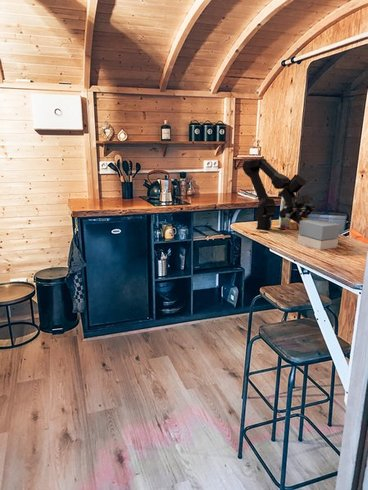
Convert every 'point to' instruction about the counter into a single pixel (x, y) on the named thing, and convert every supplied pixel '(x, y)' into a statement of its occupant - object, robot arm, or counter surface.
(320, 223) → the grey boxy piece
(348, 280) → the counter surface
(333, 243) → the carton base
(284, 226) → the snack box
